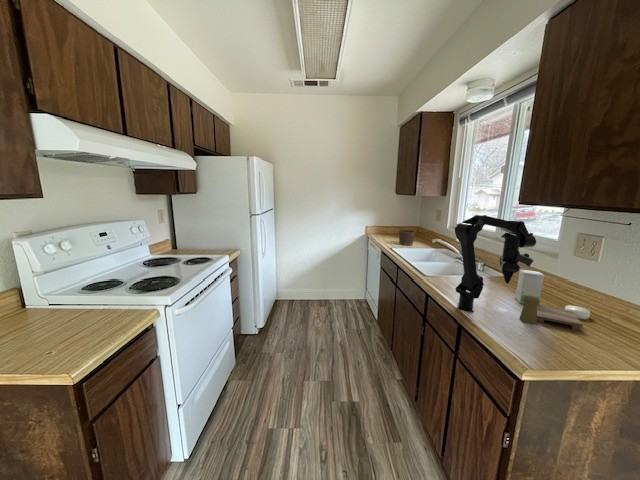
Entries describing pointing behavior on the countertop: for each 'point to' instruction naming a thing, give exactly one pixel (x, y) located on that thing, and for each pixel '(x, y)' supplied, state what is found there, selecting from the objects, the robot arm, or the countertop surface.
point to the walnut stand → (558, 316)
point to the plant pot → (406, 237)
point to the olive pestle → (530, 310)
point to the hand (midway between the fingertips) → (506, 280)
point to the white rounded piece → (578, 311)
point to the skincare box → (529, 285)
